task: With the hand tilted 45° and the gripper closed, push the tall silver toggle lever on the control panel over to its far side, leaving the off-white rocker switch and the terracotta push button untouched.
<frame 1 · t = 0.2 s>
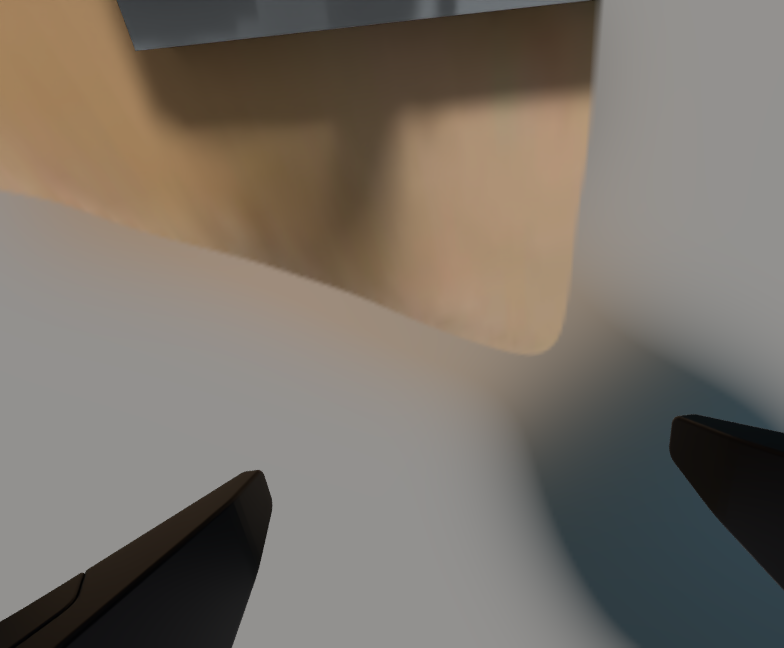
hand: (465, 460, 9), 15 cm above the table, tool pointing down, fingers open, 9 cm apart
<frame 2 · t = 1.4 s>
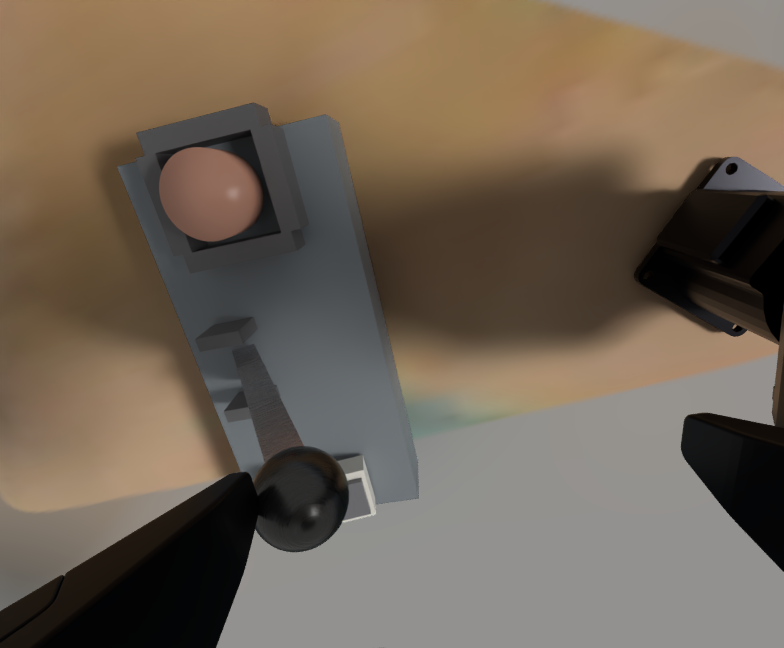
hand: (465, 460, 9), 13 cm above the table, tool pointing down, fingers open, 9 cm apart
push button: (213, 194, 16), point 5 cm above the table, slide at 0.0 cm
rocker switch: (327, 496, 21), point 4 cm above the table, hinge at -8.0°
toggle lever: (270, 418, 14), point 9 cm above the table, hinge at -27.8°, touching gripper
panel: (302, 331, 23), on the table
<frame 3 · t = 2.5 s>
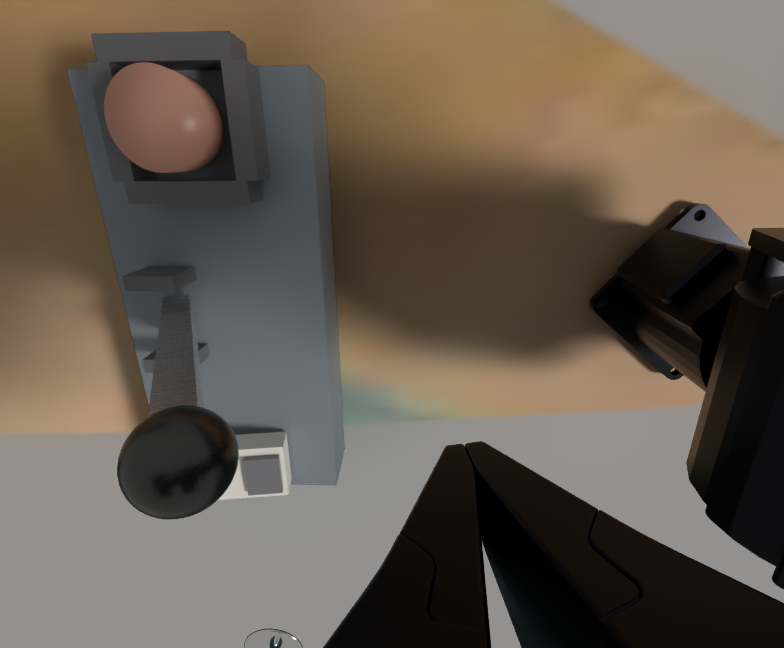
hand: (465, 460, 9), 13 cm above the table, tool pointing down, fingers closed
push button: (167, 122, 14), point 5 cm above the table, slide at 0.0 cm
rocker switch: (240, 468, 20), point 4 cm above the table, hinge at -8.0°
toggle lever: (180, 373, 13), point 9 cm above the table, hinge at -27.5°
wineglass: (275, 645, 32), on the table
panel: (248, 293, 22), on the table
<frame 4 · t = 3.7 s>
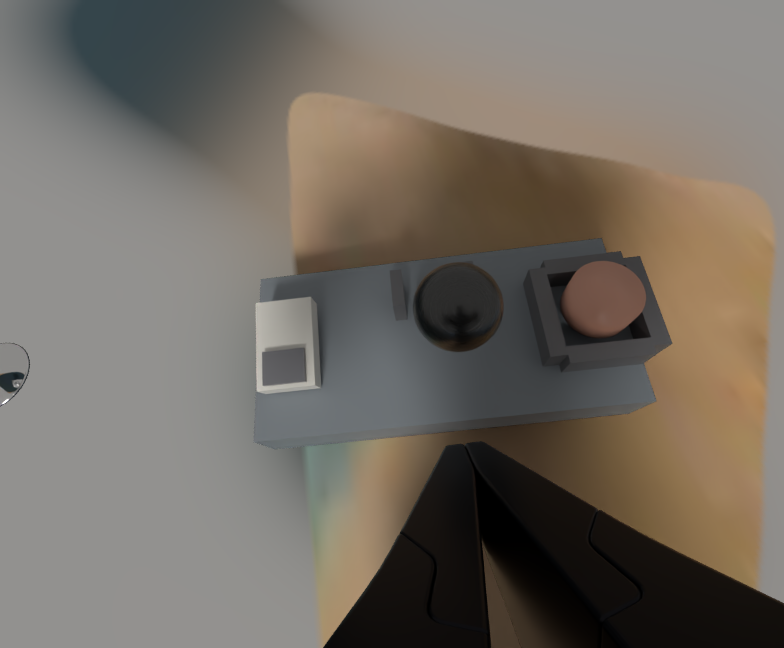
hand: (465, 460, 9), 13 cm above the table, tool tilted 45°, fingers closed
push button: (600, 299, 19), point 5 cm above the table, slide at 0.0 cm
rocker switch: (287, 344, 21), point 4 cm above the table, hinge at -8.0°
toggle lever: (443, 302, 16), point 9 cm above the table, hinge at -27.5°
panel: (437, 352, 24), on the table
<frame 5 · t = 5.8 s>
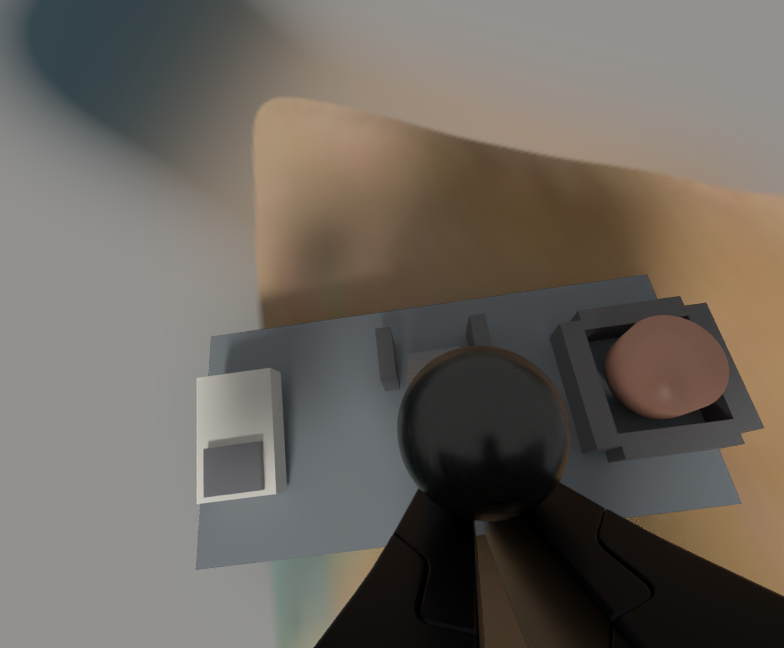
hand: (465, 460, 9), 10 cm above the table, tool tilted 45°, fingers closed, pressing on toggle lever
push button: (662, 367, 14), point 5 cm above the table, slide at 0.0 cm
rocker switch: (240, 433, 16), point 4 cm above the table, hinge at -8.0°
toggle lever: (449, 383, 11), point 9 cm above the table, hinge at -23.4°, touching gripper
panel: (440, 422, 19), on the table
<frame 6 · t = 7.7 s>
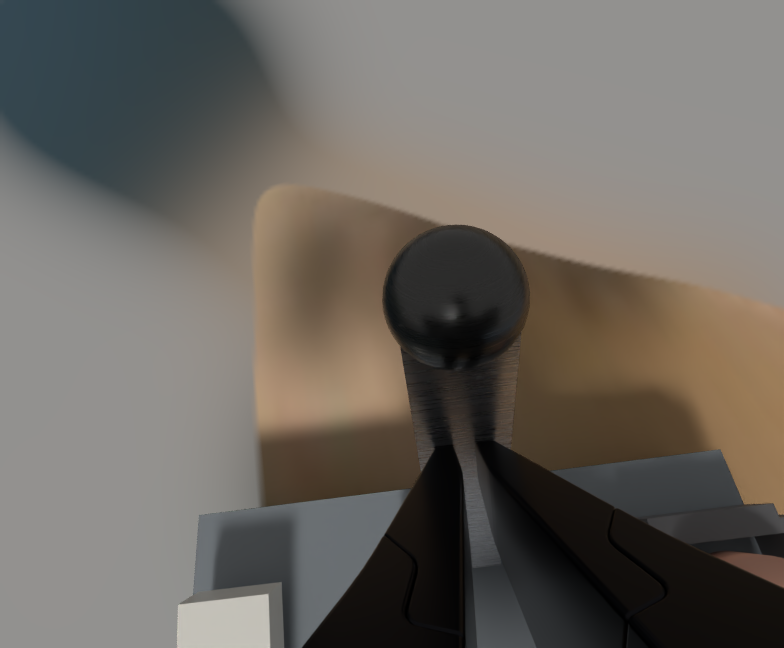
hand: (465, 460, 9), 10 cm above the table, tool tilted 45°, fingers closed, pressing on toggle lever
push button: (764, 620, 11), point 5 cm above the table, slide at 0.0 cm
toggle lever: (461, 452, 10), point 9 cm above the table, hinge at 24.9°, touching gripper
panel: (470, 613, 16), on the table
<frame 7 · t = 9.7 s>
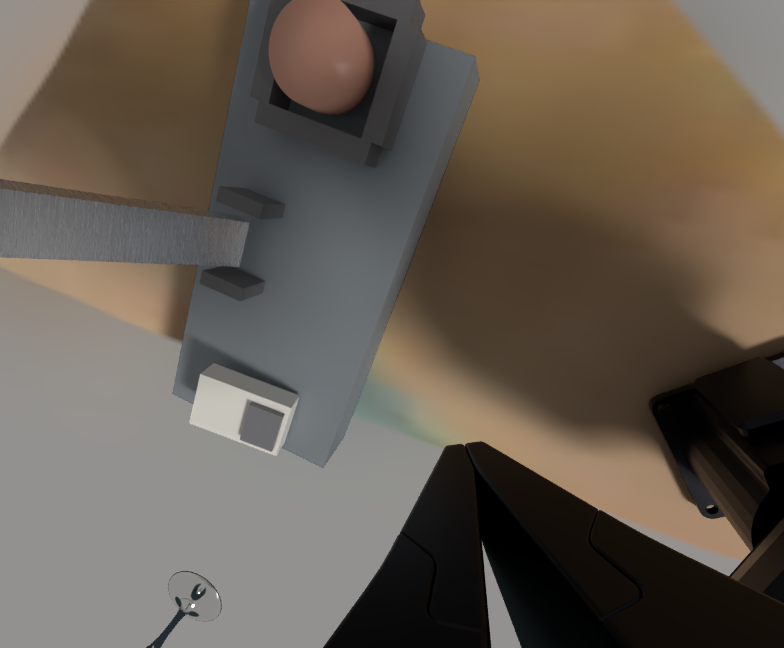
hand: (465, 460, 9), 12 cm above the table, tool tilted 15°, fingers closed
push button: (323, 59, 14), point 5 cm above the table, slide at 0.0 cm
rocker switch: (243, 411, 20), point 4 cm above the table, hinge at -8.0°
toggle lever: (77, 225, 14), point 9 cm above the table, hinge at 24.9°
wineglass: (196, 593, 31), on the table
panel: (320, 251, 21), on the table
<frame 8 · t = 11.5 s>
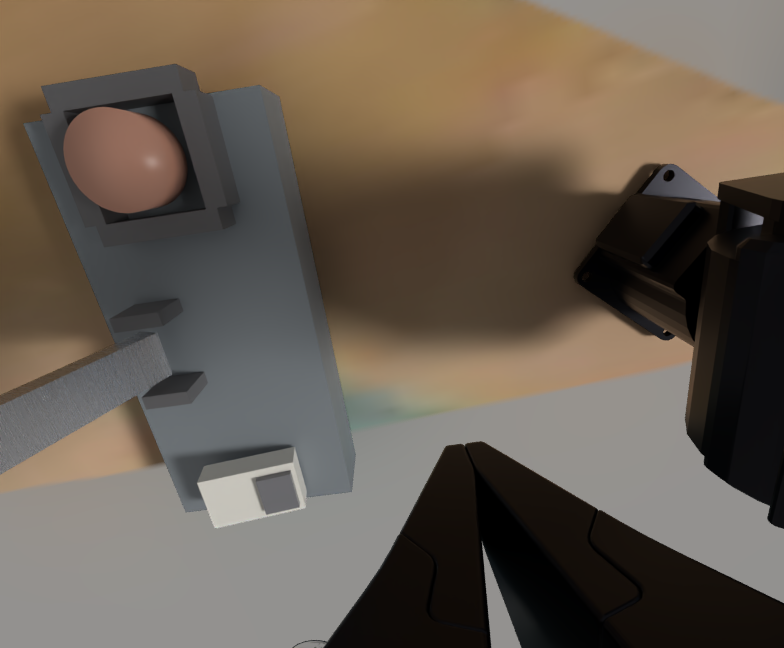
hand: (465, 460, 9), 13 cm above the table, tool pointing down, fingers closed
push button: (129, 162, 14), point 5 cm above the table, slide at 0.0 cm
rocker switch: (254, 489, 20), point 4 cm above the table, hinge at -8.0°
toggle lever: (0, 433, 14), point 9 cm above the table, hinge at 24.9°
panel: (237, 316, 22), on the table
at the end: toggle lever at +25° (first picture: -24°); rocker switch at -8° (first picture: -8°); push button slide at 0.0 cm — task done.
